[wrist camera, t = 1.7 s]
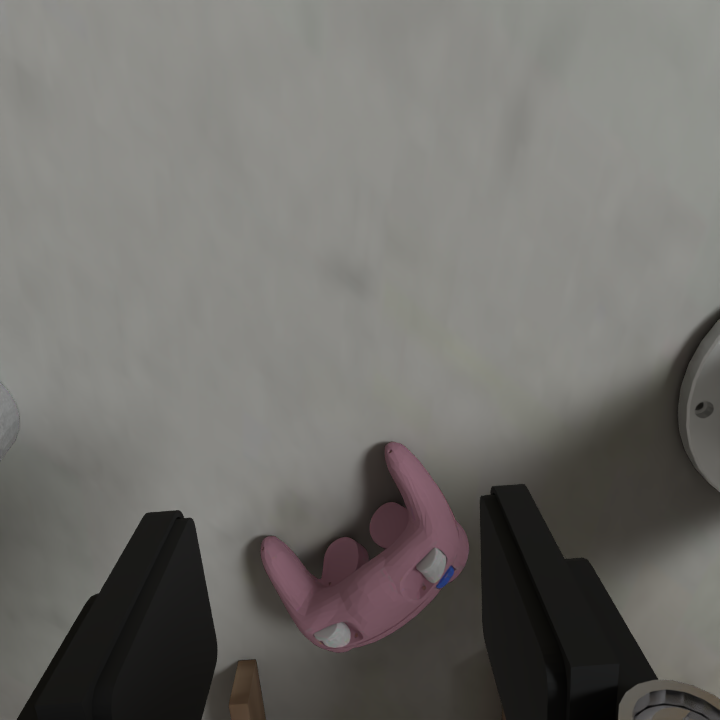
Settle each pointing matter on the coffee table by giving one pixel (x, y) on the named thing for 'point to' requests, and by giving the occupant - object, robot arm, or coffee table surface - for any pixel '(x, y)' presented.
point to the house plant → (7, 421)
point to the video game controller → (375, 565)
